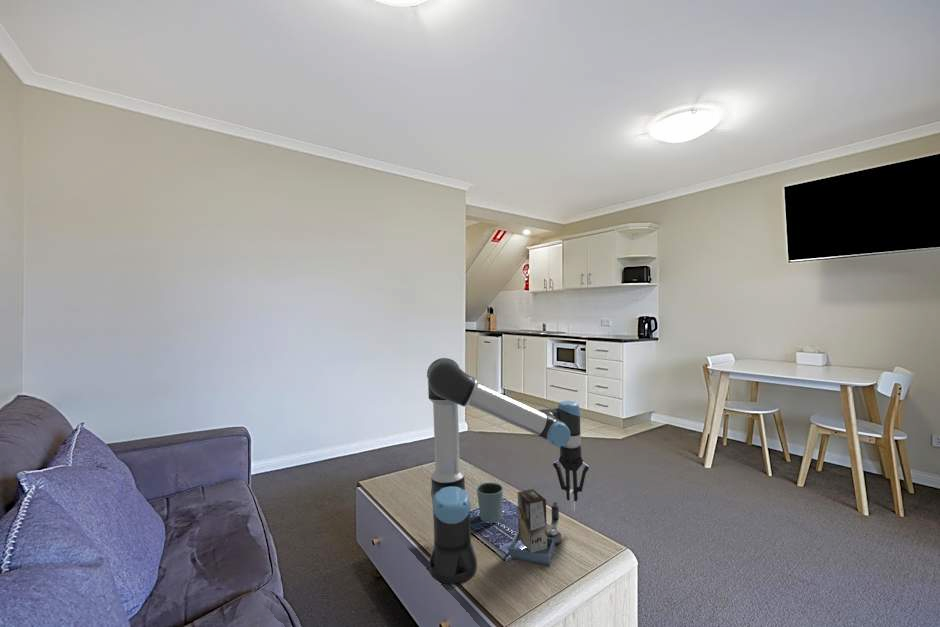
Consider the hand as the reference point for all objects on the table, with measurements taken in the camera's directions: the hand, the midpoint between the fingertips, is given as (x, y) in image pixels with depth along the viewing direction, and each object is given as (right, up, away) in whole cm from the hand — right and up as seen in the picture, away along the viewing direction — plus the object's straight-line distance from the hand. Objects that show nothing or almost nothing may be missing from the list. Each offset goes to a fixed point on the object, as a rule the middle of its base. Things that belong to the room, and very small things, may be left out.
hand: (572, 508), depth 145 cm
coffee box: (-16, -6, -12) cm, 21 cm away
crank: (-7, -6, -2) cm, 10 cm away
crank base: (-13, -8, -4) cm, 16 cm away
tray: (-17, -9, -12) cm, 22 cm away
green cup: (-29, -9, +10) cm, 32 cm away
